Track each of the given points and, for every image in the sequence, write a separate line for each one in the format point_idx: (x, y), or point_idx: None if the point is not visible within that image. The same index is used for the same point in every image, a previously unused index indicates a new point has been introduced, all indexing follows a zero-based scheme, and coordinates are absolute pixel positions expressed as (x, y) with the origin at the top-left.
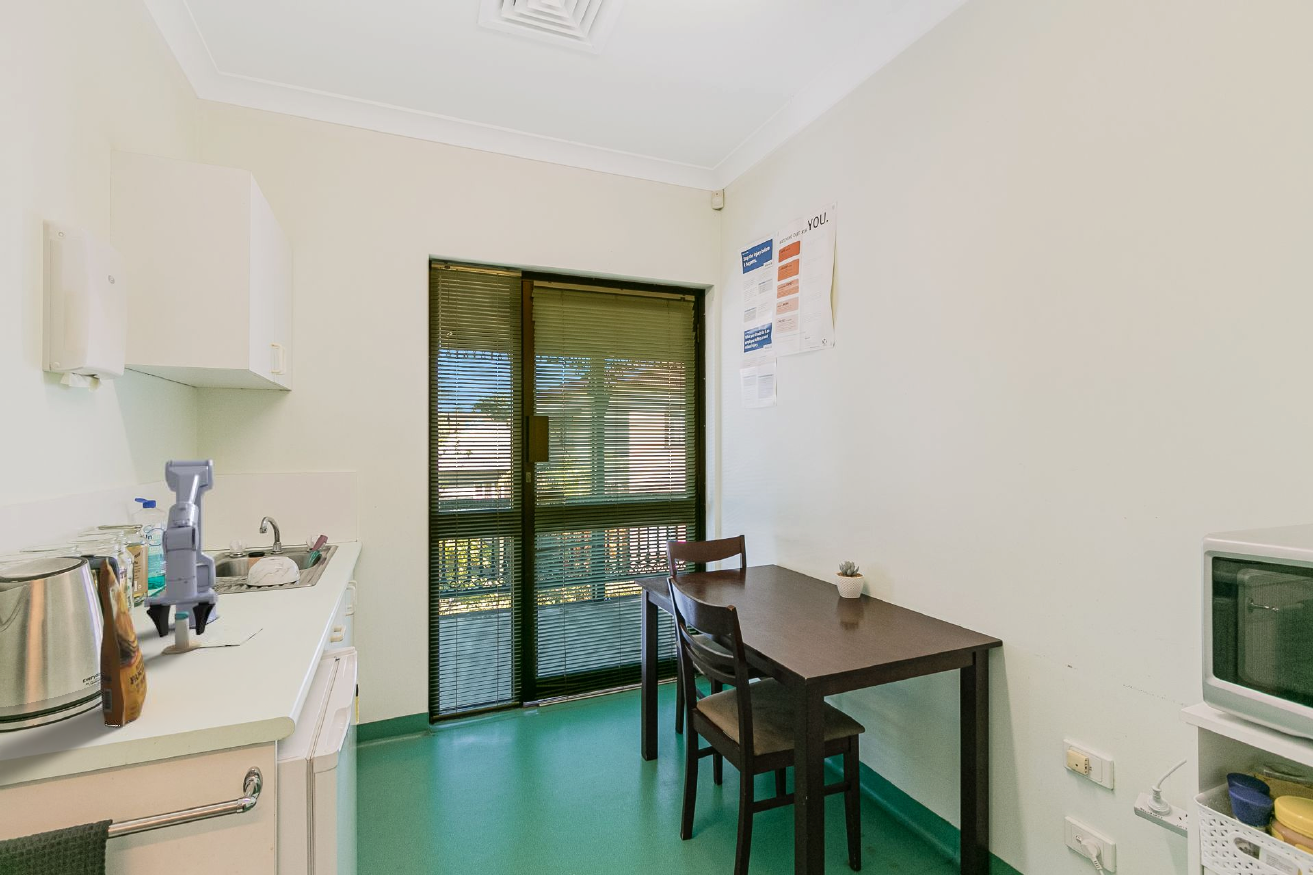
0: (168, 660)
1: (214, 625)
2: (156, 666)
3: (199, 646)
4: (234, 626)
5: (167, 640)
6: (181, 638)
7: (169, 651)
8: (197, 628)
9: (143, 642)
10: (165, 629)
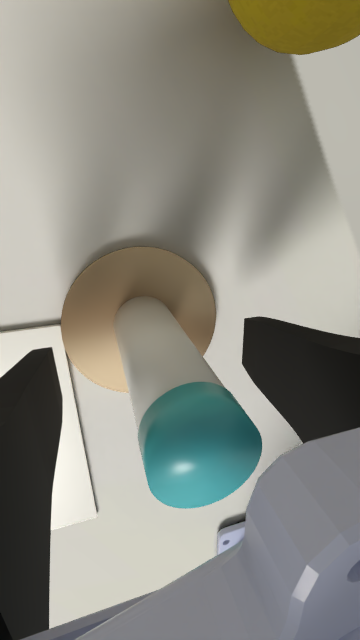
0: (90, 131)
1: (185, 551)
2: (91, 9)
3: (59, 336)
4: (98, 560)
5: (264, 415)
6: (137, 320)
7: (165, 261)
8: (27, 365)
9: None
10: (263, 363)
